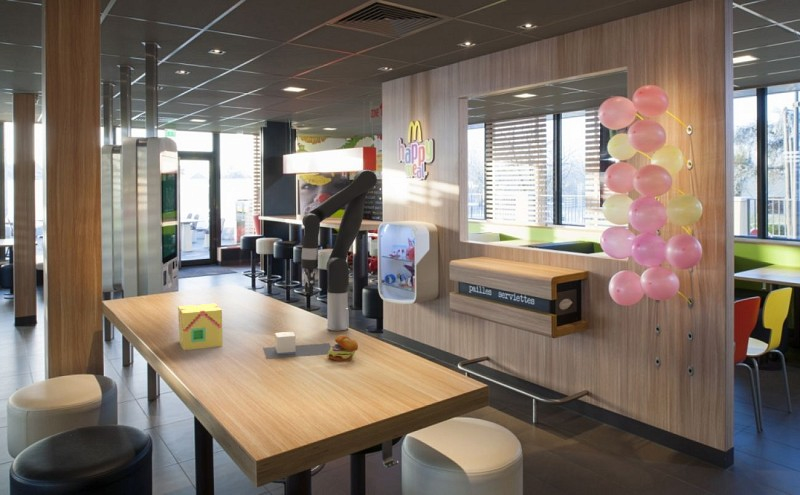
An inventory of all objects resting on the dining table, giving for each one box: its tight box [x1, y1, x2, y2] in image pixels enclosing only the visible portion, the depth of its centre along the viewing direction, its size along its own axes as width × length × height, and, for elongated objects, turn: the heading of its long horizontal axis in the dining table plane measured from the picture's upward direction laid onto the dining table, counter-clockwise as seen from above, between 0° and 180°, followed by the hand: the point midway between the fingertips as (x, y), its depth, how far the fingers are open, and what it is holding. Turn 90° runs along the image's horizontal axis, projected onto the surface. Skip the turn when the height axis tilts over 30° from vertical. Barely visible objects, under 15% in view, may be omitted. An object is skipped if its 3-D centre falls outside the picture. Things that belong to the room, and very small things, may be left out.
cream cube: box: [274, 331, 296, 355], centre depth 229 cm, size 7×7×7 cm
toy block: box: [177, 303, 224, 351], centre depth 241 cm, size 15×15×15 cm
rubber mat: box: [262, 342, 332, 360], centre depth 232 cm, size 27×16×1 cm, turn 108°
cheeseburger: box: [326, 334, 359, 362], centre depth 223 cm, size 10×11×10 cm
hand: (308, 293), depth 264 cm, fingers open, 8 cm apart
